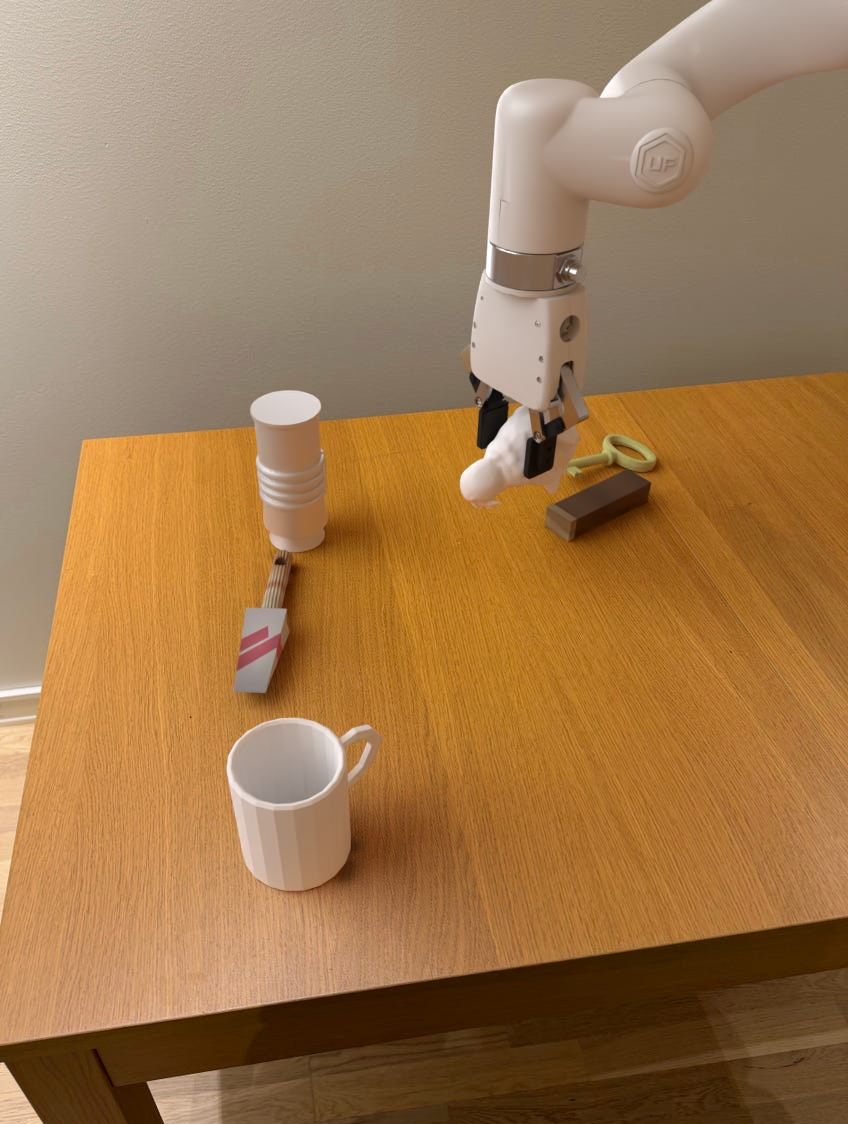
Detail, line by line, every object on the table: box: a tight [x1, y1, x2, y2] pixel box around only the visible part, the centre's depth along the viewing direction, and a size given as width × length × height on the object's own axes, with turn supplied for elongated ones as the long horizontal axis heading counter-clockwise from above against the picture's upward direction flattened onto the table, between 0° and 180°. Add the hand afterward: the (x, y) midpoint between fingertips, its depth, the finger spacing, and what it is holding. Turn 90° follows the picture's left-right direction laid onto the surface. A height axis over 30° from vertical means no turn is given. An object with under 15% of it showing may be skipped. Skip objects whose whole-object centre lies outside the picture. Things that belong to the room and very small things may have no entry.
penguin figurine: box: [459, 404, 581, 511], centre depth 85 cm, size 6×8×12 cm
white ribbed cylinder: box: [249, 389, 329, 553], centre depth 92 cm, size 7×7×15 cm
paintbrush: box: [232, 549, 294, 694], centre depth 86 cm, size 4×3×20 cm
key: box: [565, 433, 657, 478], centre depth 105 cm, size 7×12×2 cm, turn 136°
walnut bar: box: [544, 468, 652, 543], centre depth 98 cm, size 12×4×3 cm, turn 126°
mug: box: [225, 717, 384, 892], centre depth 66 cm, size 8×12×10 cm
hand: (514, 456), depth 85 cm, fingers closed on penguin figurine, 5 cm apart
